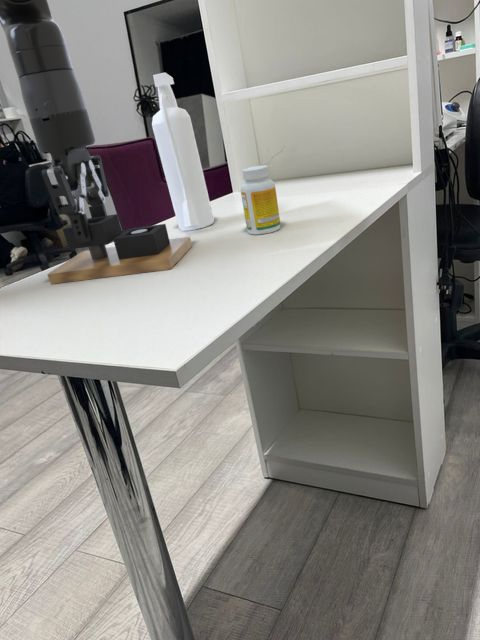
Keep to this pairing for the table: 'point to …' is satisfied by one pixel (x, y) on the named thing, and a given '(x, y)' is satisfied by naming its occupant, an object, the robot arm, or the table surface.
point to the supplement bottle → (259, 201)
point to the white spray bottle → (180, 159)
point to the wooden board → (118, 262)
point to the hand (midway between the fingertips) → (94, 235)
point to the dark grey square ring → (96, 232)
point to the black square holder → (142, 242)
